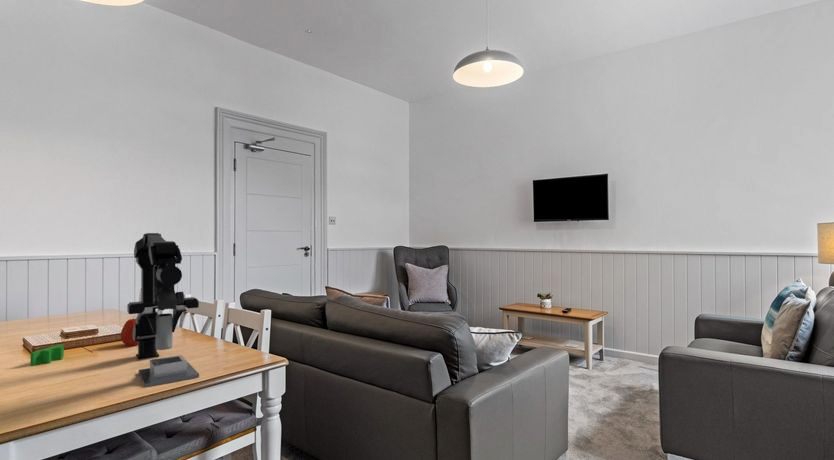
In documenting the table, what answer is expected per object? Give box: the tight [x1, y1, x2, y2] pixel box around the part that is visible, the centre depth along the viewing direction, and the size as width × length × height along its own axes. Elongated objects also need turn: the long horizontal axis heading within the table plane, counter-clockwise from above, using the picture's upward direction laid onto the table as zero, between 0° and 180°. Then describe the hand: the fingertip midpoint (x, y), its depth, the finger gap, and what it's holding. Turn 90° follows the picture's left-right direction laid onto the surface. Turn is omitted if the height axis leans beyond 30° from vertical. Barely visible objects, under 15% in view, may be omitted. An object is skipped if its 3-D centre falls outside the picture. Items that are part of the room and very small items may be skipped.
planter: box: [156, 312, 173, 351], centre depth 140 cm, size 4×4×10 cm
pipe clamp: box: [30, 343, 65, 367], centre depth 156 cm, size 11×4×5 cm, turn 173°
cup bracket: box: [138, 354, 200, 388], centre depth 140 cm, size 16×14×4 cm
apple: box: [120, 318, 139, 347], centre depth 177 cm, size 8×8×11 cm
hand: (164, 333), depth 140 cm, fingers closed on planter, 4 cm apart
